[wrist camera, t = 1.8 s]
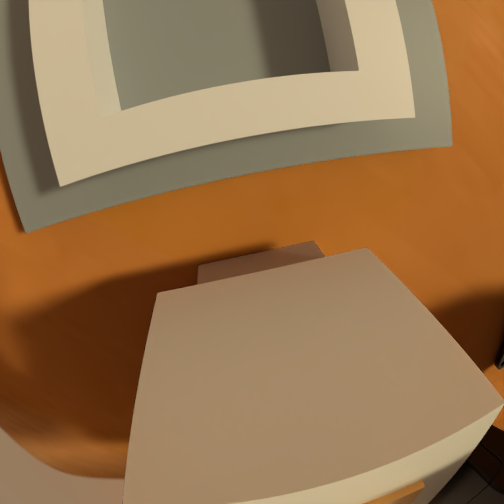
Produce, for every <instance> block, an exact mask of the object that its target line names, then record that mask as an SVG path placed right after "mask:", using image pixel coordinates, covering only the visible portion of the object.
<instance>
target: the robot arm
mask: <svg viewBox="0 0 504 504" xmlns="http://www.w3.org/2000/svg"><path fill="white" fill-rule="evenodd" d="M495 366H496V367H497V369H501V368H503V367H504V341H503V344H502V346H501V349H500V351H499V354H498V356H497V359H496V361H495ZM428 504H504V431H502V430H500V429H498V428H497V427H495V426H493V425H491V426H490V428H489V429H488V431H487V432H486V434H485V435H484V436H483V438H482V439H481V441H480V442H479V443H478V445H477V446H476V448H475V449H474V450H473V452H472V453H471V454H470V456H469V457H468V458H467V459H466V461H465V462H464V463H463V464H462V466H461V467H460V468H459V469H458V471H457V472H456V473H455V474H454V475H453V477H452V478H451V479H450V480H449V481H448V482H447V484H446V485H445V486H444V487H443V488H442V489H441V490H440V491H439V492H438V494H437V495H436V496H435V497H434V498H433V499H432V500H431V501H430V502H429V503H428Z"/></svg>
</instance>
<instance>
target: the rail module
mask: <svg viewBox="0 0 504 504" xmlns="http://www.w3.org/2000/svg"><path fill="white" fill-rule="evenodd" d="M503 406H504V399H503V398H502V397H501V396H500V394H499V393H498V392H497V390H496V389H495V388H494V387H493V385H492V384H491V383H490V381H489V380H488V379H487V378H486V376H485V375H484V374H483V373H482V372H481V370H480V369H479V368H478V367H477V365H476V364H475V363H474V362H473V361H472V359H471V358H470V357H469V356H468V355H467V353H466V352H465V351H464V350H463V349H462V348H461V346H460V345H459V344H458V343H457V342H456V341H455V339H454V338H453V337H452V336H451V335H450V334H449V333H448V331H447V330H446V329H445V328H444V327H443V326H442V325H441V324H440V322H439V321H438V320H437V319H436V318H435V317H434V316H433V315H432V314H431V313H430V311H429V310H428V309H427V308H426V307H425V306H424V305H423V304H422V303H421V302H420V301H419V300H418V299H417V298H416V296H415V295H414V294H413V293H412V292H411V291H410V290H409V289H408V288H407V287H406V286H405V285H404V284H403V283H402V282H401V281H400V280H399V279H398V278H397V277H396V276H395V275H394V274H393V273H392V272H391V271H390V270H389V269H388V268H387V267H386V266H385V265H384V264H383V263H382V262H381V261H380V260H379V259H378V258H377V257H376V256H375V255H374V254H373V253H372V252H371V251H370V250H369V249H368V248H367V247H366V248H362V249H357V250H353V251H349V252H344V253H340V254H336V255H331V256H327V257H325V255H324V254H323V253H322V251H321V250H320V249H319V247H318V246H317V245H316V243H315V242H314V241H309V242H305V243H300V244H296V245H291V246H286V247H282V248H277V249H272V250H268V251H263V252H258V253H253V254H249V255H244V256H239V257H235V258H230V259H225V260H221V261H216V262H211V263H207V264H202V265H198V280H197V285H193V286H188V287H184V288H179V289H174V290H169V291H164V292H159V293H157V297H156V302H155V306H154V310H153V315H152V319H151V324H150V328H149V333H148V337H147V342H146V347H145V352H144V357H143V362H142V367H141V373H140V378H139V383H138V389H137V395H136V401H135V407H134V413H133V419H132V426H131V433H130V440H129V447H128V455H127V463H126V471H125V481H124V490H123V501H122V504H428V503H429V502H430V501H431V500H432V499H433V498H434V497H435V496H436V495H437V494H438V492H439V491H440V490H441V489H442V488H443V487H444V486H445V485H446V484H447V482H448V481H449V480H450V479H451V478H452V477H453V475H454V474H455V473H456V472H457V471H458V469H459V468H460V467H461V466H462V464H463V463H464V462H465V461H466V459H467V458H468V457H469V456H470V454H471V453H472V452H473V450H474V449H475V448H476V446H477V445H478V443H479V442H480V441H481V439H482V438H483V436H484V435H485V434H486V432H487V431H488V429H489V428H490V426H491V425H492V423H493V422H494V420H495V418H496V417H497V415H498V414H499V412H500V411H501V409H502V407H503Z"/></svg>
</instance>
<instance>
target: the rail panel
mask: <svg viewBox="0 0 504 504" xmlns="http://www.w3.org/2000/svg"><path fill="white" fill-rule="evenodd" d="M449 146H452V125H451V111H450V100H449V90H448V82H447V74H446V67H445V61H444V55H443V49H442V43H441V38H440V33H439V28H438V24H437V19H436V15H435V11H434V7H433V3H432V0H0V151H1V155H2V159H3V163H4V167H5V171H6V174H7V178H8V182H9V185H10V188H11V192H12V195H13V198H14V201H15V204H16V207H17V210H18V213H19V216H20V219H21V222H22V224H23V227H24V230H25V233H29V232H32V231H35V230H38V229H41V228H44V227H47V226H50V225H53V224H56V223H59V222H62V221H65V220H69V219H72V218H75V217H78V216H82V215H85V214H88V213H92V212H95V211H99V210H102V209H105V208H109V207H113V206H116V205H120V204H123V203H127V202H131V201H134V200H138V199H142V198H146V197H150V196H154V195H158V194H162V193H166V192H170V191H174V190H178V189H182V188H186V187H191V186H195V185H199V184H204V183H208V182H213V181H218V180H222V179H227V178H232V177H237V176H242V175H247V174H252V173H257V172H262V171H267V170H273V169H278V168H284V167H289V166H295V165H301V164H307V163H313V162H320V161H326V160H333V159H340V158H347V157H354V156H361V155H369V154H377V153H386V152H395V151H404V150H414V149H424V148H436V147H449Z"/></svg>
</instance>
